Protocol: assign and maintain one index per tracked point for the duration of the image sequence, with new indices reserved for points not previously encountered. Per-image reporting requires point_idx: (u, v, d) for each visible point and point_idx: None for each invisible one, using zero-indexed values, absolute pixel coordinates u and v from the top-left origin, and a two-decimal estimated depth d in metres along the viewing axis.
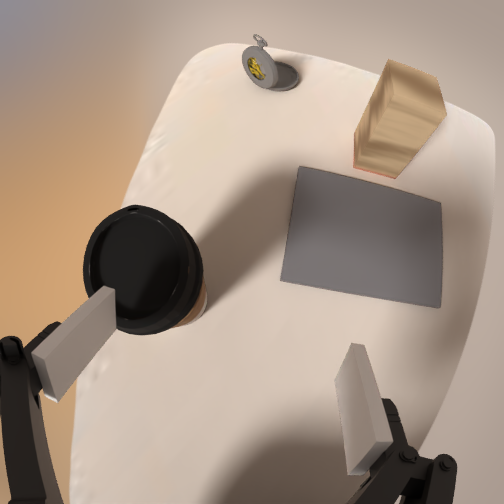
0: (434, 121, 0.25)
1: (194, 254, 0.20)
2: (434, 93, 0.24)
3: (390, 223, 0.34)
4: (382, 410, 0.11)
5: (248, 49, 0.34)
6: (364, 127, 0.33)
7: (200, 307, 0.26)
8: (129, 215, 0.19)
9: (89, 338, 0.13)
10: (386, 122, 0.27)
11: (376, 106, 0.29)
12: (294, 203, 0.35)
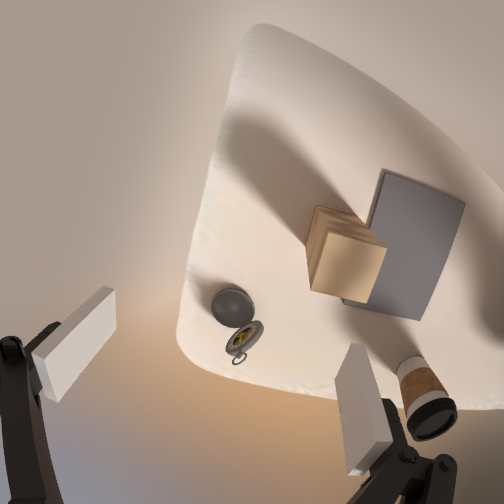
0: None
1: (436, 404, 0.34)
2: (358, 251, 0.28)
3: (400, 237, 0.40)
4: (382, 410, 0.11)
5: (234, 355, 0.42)
6: None
7: (433, 374, 0.41)
8: (416, 432, 0.34)
9: (89, 338, 0.13)
10: None
11: None
12: (373, 310, 0.44)
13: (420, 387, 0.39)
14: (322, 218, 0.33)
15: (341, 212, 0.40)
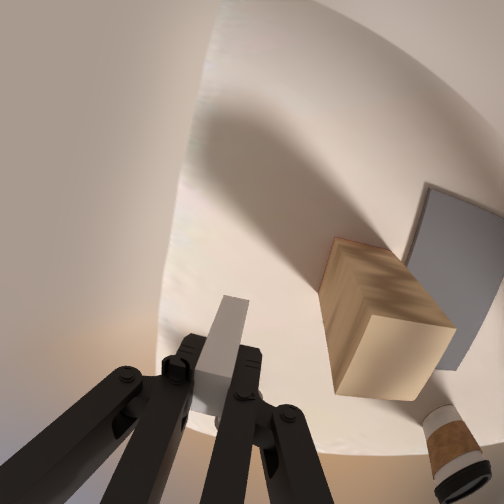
0: None
1: (471, 471, 0.21)
2: (415, 337, 0.15)
3: (444, 275, 0.27)
4: (237, 352, 0.13)
5: None
6: None
7: (466, 429, 0.29)
8: (445, 500, 0.22)
9: None
10: None
11: None
12: None
13: (452, 448, 0.26)
14: (351, 271, 0.20)
15: (369, 246, 0.27)
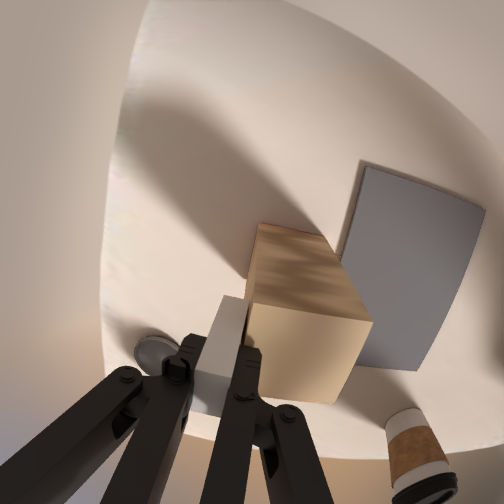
0: None
1: (430, 484, 0.21)
2: (317, 331, 0.14)
3: (391, 264, 0.27)
4: (237, 352, 0.13)
5: None
6: None
7: (431, 436, 0.28)
8: None
9: None
10: None
11: None
12: None
13: (412, 457, 0.26)
14: (256, 256, 0.19)
15: (298, 232, 0.27)
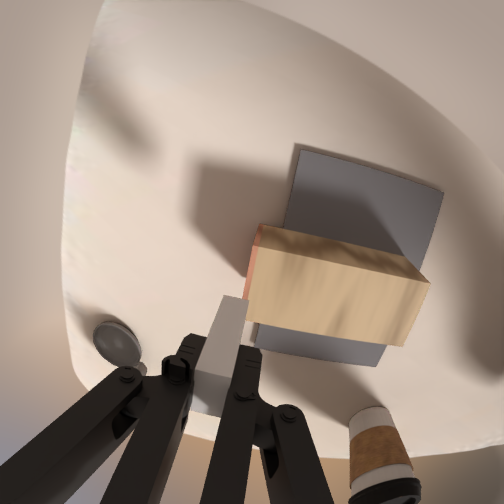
0: None
1: (387, 489, 0.21)
2: None
3: None
4: (237, 352, 0.13)
5: None
6: None
7: (395, 437, 0.28)
8: None
9: None
10: None
11: None
12: (301, 355, 0.31)
13: (370, 458, 0.26)
14: (365, 269, 0.21)
15: (262, 232, 0.24)
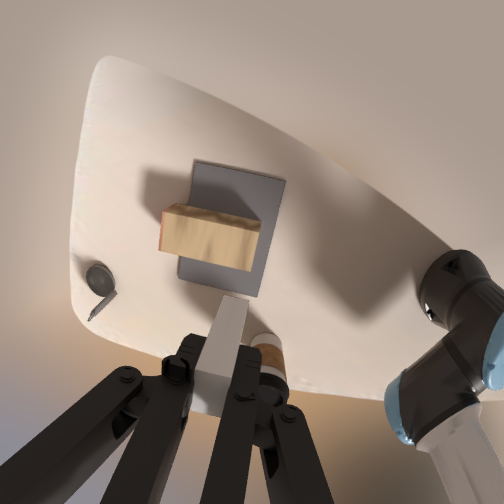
0: None
1: None
2: None
3: None
4: (237, 352, 0.13)
5: None
6: None
7: (274, 351, 0.50)
8: None
9: None
10: None
11: None
12: (206, 284, 0.52)
13: None
14: (217, 223, 0.42)
15: (173, 207, 0.46)
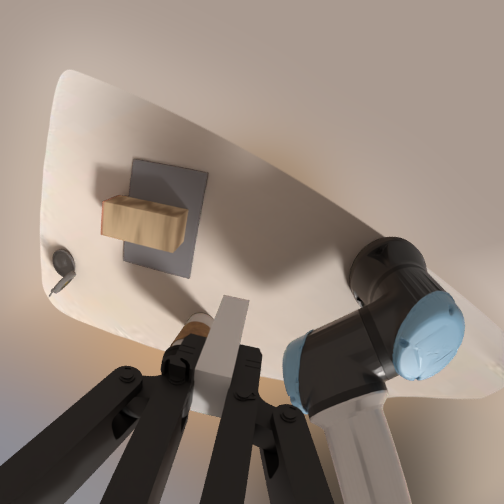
0: None
1: (176, 349, 0.48)
2: (183, 218, 0.50)
3: None
4: (237, 352, 0.13)
5: None
6: None
7: (202, 328, 0.55)
8: None
9: None
10: None
11: None
12: (146, 266, 0.57)
13: (179, 335, 0.52)
14: (144, 210, 0.47)
15: (114, 197, 0.50)
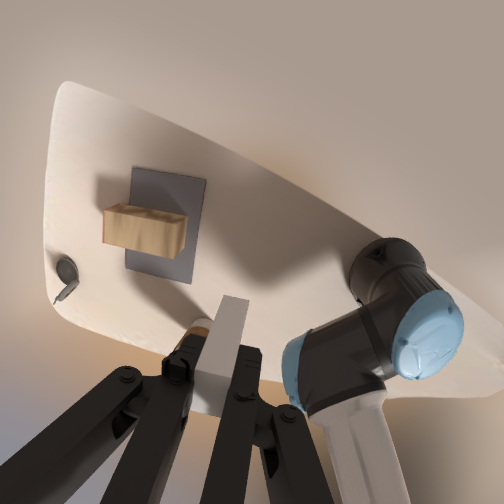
0: None
1: None
2: (182, 225, 0.51)
3: None
4: (237, 352, 0.13)
5: (60, 300, 0.56)
6: None
7: (204, 333, 0.55)
8: None
9: None
10: None
11: None
12: (148, 273, 0.58)
13: (182, 340, 0.53)
14: (144, 218, 0.48)
15: (115, 206, 0.52)
